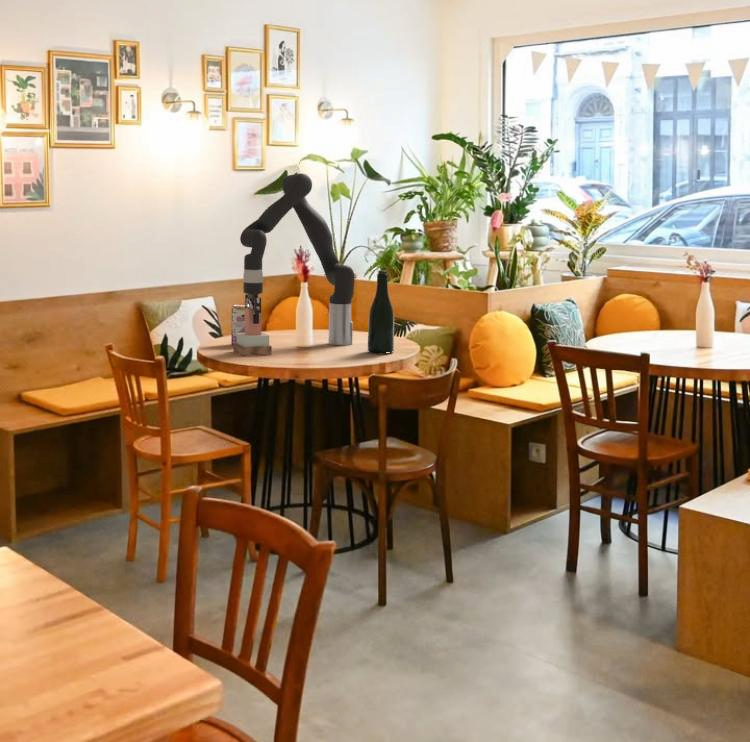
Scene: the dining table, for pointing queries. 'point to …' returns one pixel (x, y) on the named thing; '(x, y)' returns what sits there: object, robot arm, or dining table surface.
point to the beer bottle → (381, 318)
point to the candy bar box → (237, 321)
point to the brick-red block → (251, 323)
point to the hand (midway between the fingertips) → (252, 322)
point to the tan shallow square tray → (252, 350)
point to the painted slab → (252, 340)
